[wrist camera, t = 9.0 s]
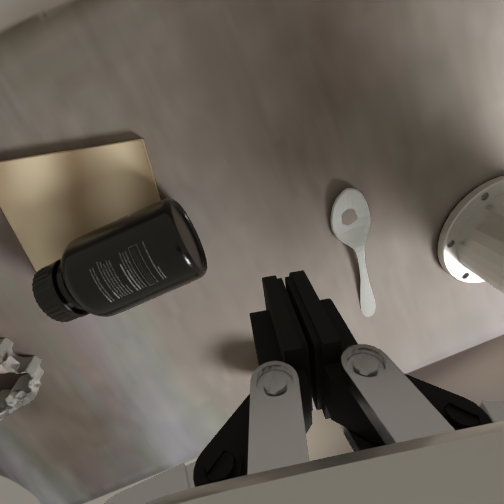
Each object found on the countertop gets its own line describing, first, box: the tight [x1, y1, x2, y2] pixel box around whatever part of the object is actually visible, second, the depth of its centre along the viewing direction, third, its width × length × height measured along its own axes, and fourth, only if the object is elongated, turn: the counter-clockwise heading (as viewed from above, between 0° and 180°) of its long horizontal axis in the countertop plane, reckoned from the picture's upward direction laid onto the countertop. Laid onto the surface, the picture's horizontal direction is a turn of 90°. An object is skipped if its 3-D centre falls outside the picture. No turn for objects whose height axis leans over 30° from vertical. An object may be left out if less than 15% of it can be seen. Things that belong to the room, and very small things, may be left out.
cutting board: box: [0, 138, 161, 272], centre depth 26 cm, size 12×11×1 cm
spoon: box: [330, 188, 376, 317], centre depth 34 cm, size 4×21×2 cm, turn 20°
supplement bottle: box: [32, 199, 207, 322], centre depth 24 cm, size 7×7×12 cm
